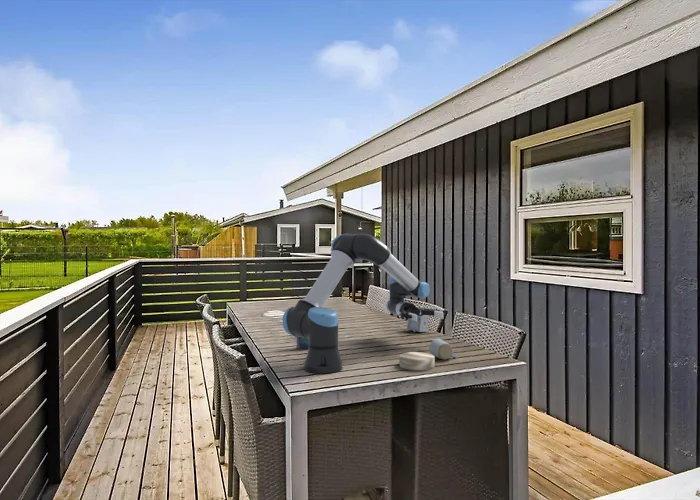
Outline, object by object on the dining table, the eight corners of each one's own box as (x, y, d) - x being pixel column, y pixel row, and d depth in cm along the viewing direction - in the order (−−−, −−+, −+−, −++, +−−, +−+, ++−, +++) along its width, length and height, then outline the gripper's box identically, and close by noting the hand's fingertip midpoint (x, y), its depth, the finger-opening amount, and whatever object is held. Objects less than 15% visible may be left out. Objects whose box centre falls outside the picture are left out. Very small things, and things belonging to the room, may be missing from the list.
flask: (295, 348, 218) (295, 325, 218) (297, 347, 221) (297, 324, 221) (315, 349, 217) (315, 326, 216) (316, 348, 220) (316, 325, 219)
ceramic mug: (438, 361, 195) (438, 342, 195) (428, 356, 203) (429, 338, 203) (460, 359, 199) (460, 341, 199) (450, 354, 207) (450, 337, 206)
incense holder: (430, 332, 256) (430, 312, 255) (420, 334, 250) (420, 314, 250) (416, 329, 263) (416, 310, 263) (406, 331, 258) (406, 312, 258)
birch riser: (421, 373, 179) (421, 362, 179) (392, 366, 189) (392, 356, 189) (441, 365, 190) (441, 355, 189) (412, 359, 199) (412, 350, 199)
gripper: (428, 315, 234) (453, 322, 215) (383, 319, 225) (405, 327, 205) (428, 300, 234) (453, 306, 214) (383, 304, 225) (405, 310, 205)
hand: (429, 316), depth 210 cm, fingers open, 13 cm apart
